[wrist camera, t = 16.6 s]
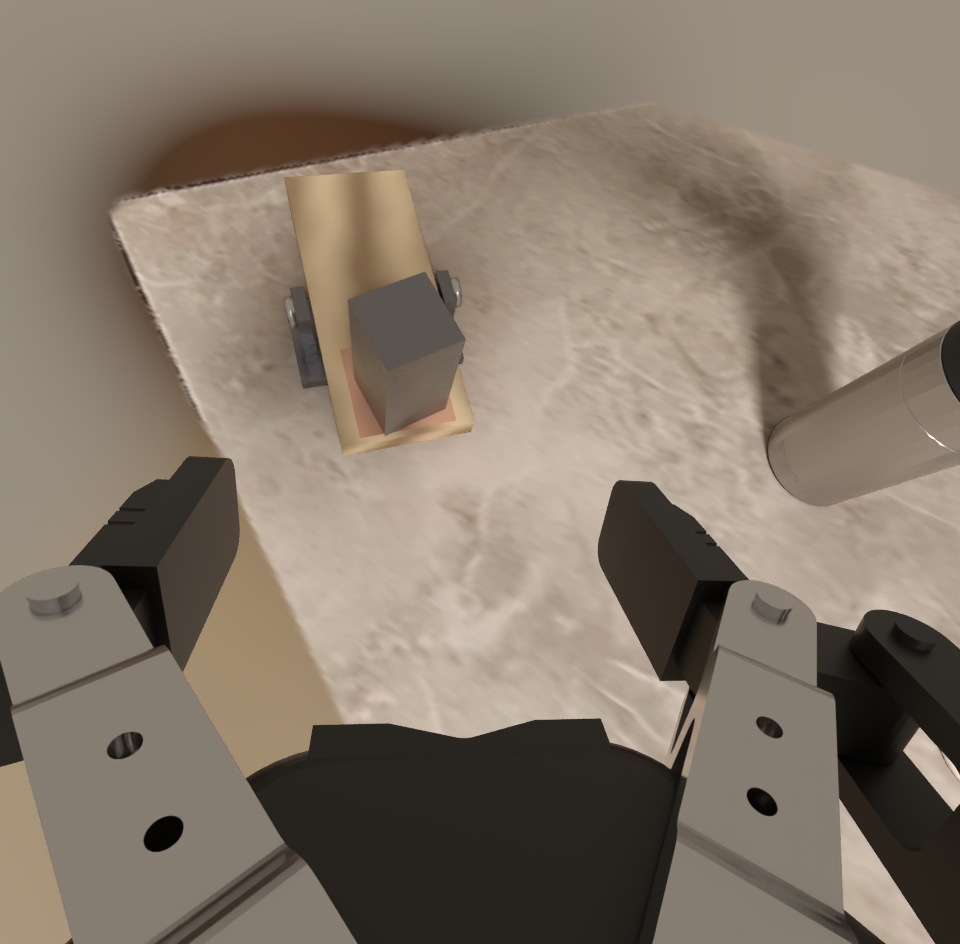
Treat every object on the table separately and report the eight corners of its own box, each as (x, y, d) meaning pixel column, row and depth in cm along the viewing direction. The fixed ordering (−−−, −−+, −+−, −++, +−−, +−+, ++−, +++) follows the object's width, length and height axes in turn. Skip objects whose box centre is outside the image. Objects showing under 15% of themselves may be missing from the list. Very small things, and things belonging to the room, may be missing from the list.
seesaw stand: (440, 288, 51) (448, 242, 46) (462, 363, 49) (473, 325, 44) (287, 307, 48) (274, 260, 42) (303, 388, 46) (292, 350, 40)
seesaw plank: (402, 187, 49) (404, 167, 47) (470, 431, 43) (475, 421, 41) (287, 196, 47) (283, 175, 45) (343, 456, 41) (341, 446, 39)
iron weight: (414, 354, 42) (425, 271, 33) (445, 409, 41) (465, 339, 32) (354, 379, 40) (347, 299, 31) (385, 436, 40) (387, 371, 30)
